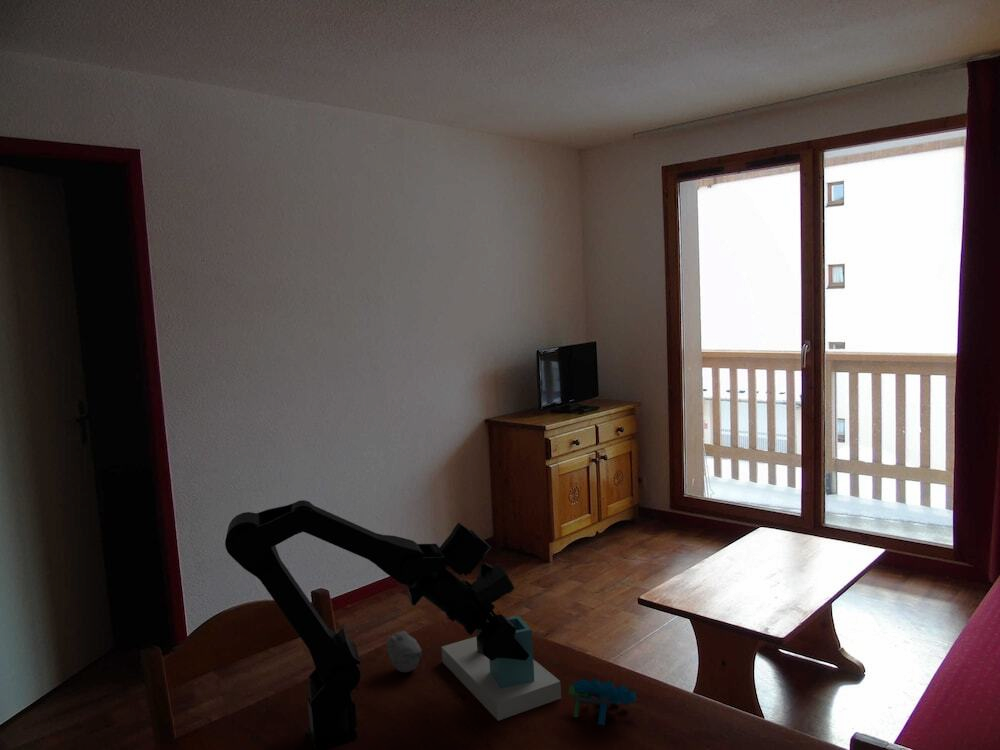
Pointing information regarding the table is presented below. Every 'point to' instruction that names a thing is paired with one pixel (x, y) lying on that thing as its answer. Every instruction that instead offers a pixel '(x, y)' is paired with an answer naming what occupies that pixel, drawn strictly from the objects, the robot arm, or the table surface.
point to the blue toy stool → (600, 696)
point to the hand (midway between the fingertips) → (517, 645)
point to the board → (484, 687)
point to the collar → (512, 669)
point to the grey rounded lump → (403, 651)
